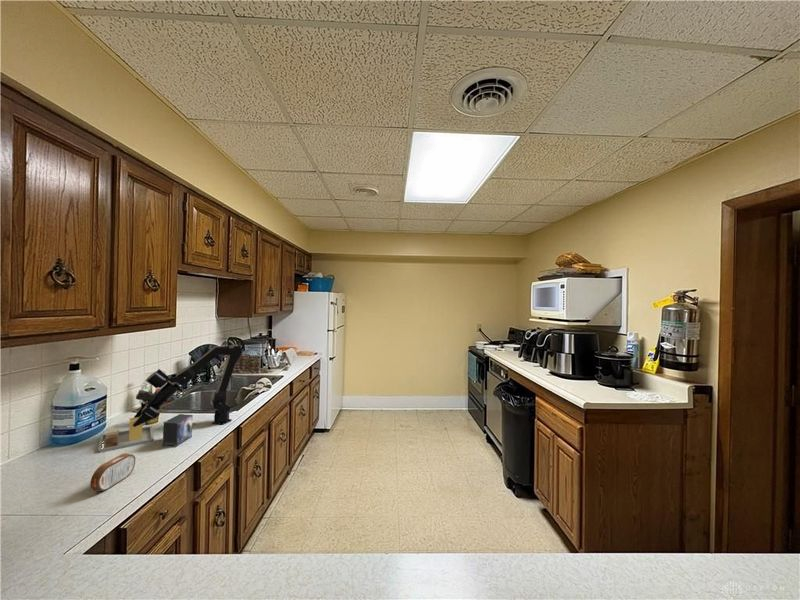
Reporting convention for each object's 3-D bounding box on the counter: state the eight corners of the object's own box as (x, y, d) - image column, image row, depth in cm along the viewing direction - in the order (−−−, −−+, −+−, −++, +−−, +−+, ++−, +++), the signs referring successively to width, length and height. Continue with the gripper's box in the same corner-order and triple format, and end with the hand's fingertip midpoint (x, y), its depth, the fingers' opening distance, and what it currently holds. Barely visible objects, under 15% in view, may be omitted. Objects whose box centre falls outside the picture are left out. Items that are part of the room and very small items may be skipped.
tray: (151, 429, 159) (151, 426, 159) (153, 442, 145) (153, 439, 145) (101, 438, 148) (101, 435, 148) (97, 453, 134) (97, 450, 134)
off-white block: (118, 437, 149) (118, 428, 149) (117, 440, 146) (117, 431, 146) (106, 439, 147) (106, 430, 147) (106, 442, 143) (106, 433, 143)
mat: (177, 420, 170) (177, 420, 170) (196, 423, 167) (196, 423, 167) (154, 429, 159) (154, 429, 159) (173, 433, 155) (174, 432, 155)
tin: (128, 472, 121) (129, 448, 121) (137, 472, 121) (137, 449, 121) (88, 496, 106) (89, 469, 106) (98, 496, 106) (99, 470, 106)
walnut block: (117, 442, 144) (117, 433, 144) (117, 446, 140) (117, 436, 140) (105, 445, 141) (106, 435, 141) (105, 448, 138) (105, 438, 138)
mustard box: (141, 435, 152) (142, 416, 152) (142, 438, 148) (142, 419, 148) (129, 437, 149) (129, 418, 149) (129, 441, 145) (129, 421, 145)
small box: (176, 447, 141) (177, 422, 141) (161, 447, 141) (162, 422, 141) (193, 437, 152) (193, 414, 151) (178, 436, 152) (179, 413, 152)
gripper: (148, 379, 158) (117, 406, 152) (150, 388, 144) (116, 419, 137) (168, 393, 163) (139, 420, 157) (172, 403, 149) (140, 433, 142)
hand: (133, 423), depth 148 cm, fingers open, 9 cm apart
